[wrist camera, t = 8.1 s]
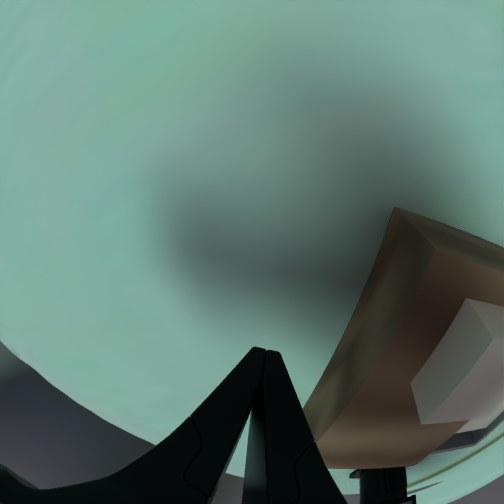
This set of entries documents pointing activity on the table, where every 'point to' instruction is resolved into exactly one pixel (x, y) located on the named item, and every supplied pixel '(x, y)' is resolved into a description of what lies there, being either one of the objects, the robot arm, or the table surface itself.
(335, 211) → the table surface
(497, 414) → the tile
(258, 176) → the table surface
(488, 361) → the tile
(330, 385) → the walnut plate
